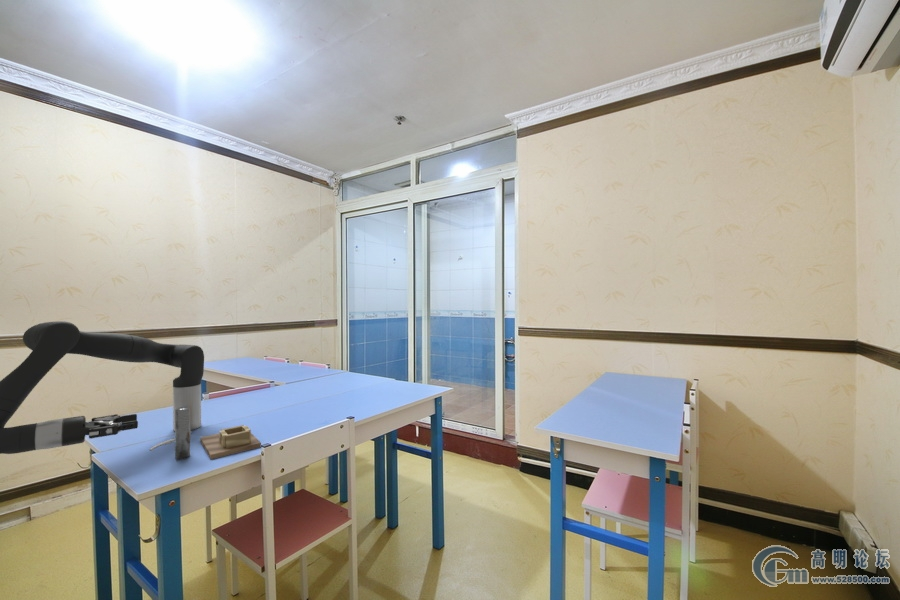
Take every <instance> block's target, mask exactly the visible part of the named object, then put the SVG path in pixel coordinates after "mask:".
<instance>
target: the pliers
mask: <svg viewBox="0 0 900 600" xmlns="http://www.w3.org/2000/svg"><path fill="white" fill-rule="evenodd" d="M190 435H192V430H190ZM174 440H175V437H174V438H171V439H168V440H165V441H162V442H159V443H156V445H154V446H152V447H150V449H149V451H150V450H151V451H153V450H155V449H157V448H159V447H161V446H164V444H165V445H169V444H173V443H175V441H174ZM172 442H173V443H172ZM160 445H161V446H160ZM158 446H159V447H158ZM156 447H157V448H156ZM154 448H155V449H154Z"/></svg>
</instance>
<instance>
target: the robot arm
mask: <svg viewBox="0 0 900 600" xmlns="http://www.w3.org/2000/svg"><path fill="white" fill-rule="evenodd" d="M22 341H23V343H24V345H25V346H26V347H27V348H28V350H29V349H30V350H31V353H29V355H28V356H27V357H26V358H25V359H24V360H23V361H22V362H21V363H20V364H19V365H18V366H17V367H16V368H14V369H13V370H12V371H11V372H9V374H7V375H6V376H5V377H4V378H2V379H1V380H0V454H1V455H4V454H5V455H12V454H13V455H14V454H21V453H27V452H32V451H39V450H50V449H56V448H61V447H66V446H72V445H73V446H74V445H77V444H79V445H80V444H83V443H84V442H85V441H86V436H88V439H90V440H91V439H96V438H101V437H109V436H115V435H118V434H119V433H121V432H122V431H130V430H135V429H138V427H139V422H138V415H137V413H133V414H126V415H118V414H116V413H115V414H109V415H105V416H100V417H99V416H98V417H92V418H91V421H86V418H87V417H86V416H85V415H79V416H78V415H77V416H73V417H64V418H59V419H51V420H47V421H43V422H38V423H37V422H36V423H29V424H21V425H16V426H11V427H10V426H9V427H5V426H6V425H7V423H8V421H10V419H11V418H12V417H13V415H14V414H16V412H17V410H18V409H19V408H20V407H21V405H22V404H23V403H24V401H25V400H26V398H27V397H28V396H29V395H30V394H31V392H32V391H34V389H35V387H36V386H37V385H38V384H39V383H40V381H42V379H43V378H44V377H46V375H47V374H48V373H49V372H50V371H51V370H52V369H53V367H55V366H56V364H57V363H58V362H60V361H61V360H62V359H63V358H64V357H65V356H66V355H68V354H69V355H80V356H81V355H82V356H87V357H92V358H98V359H103V360H110V361H111V360H112V361H116V362H118V361H119V362H125V363H157V364H162V365H167V366H171V367H175V368H178V369H179V368H180V374H179V376H177V377H175V378H174V379H172V431H173V432H175V409H177V408H180V407H190V431H193V430H197V429H199V428H200V427H201V426H202V379H203V377H204V370H205V353H204V350H203V348H202V347H201V346H199V345H196V344H170V343H169V344H168V343H160V342H157V341H154V340H153V339H149V338H146V337H143V336H138V335H132V334H128V333H116V332H114V333H113V332H90V331H89V332H88V331H83V330H82V331H81V330H80V329H79V328H78V326H76V324H74V323H72V322H70V321H65V320H64V321H63V320H57V321H47V322H46V321H45V322H41V323H38V324H37V323H36V324H34V325H33V326H31V327H29V328H27V329H26V330H25V331H24V332H23V335H22Z"/></svg>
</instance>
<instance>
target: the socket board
mask: <svg viewBox="0 0 900 600" xmlns="http://www.w3.org/2000/svg"><path fill="white" fill-rule="evenodd" d="M199 438H200V440H199V442H200V443H202V444H201V445H202V447H203V449H204V448H205V449H204V450H206V451H205V452H206V454H207V456H208V455H209V456H208V458H209V459H210V460H214V459H218V458H222V457H226V456H230V454H231V455H233V454H234V453H235V454H239V453H242V451H243V452H247V451H250V450H254V449H259V448H261V447H262V442H261V441H260V440H259V439H258V438H257V437H256V436H255V435H254V434H253V432H252V430H251V428H250V427H249V426H248V425H244V424H241V425H237V426H236V425H235V426H232V427H227V428H222V429H220V430H219V431H218V433H214V434H209V435H205V436H201V437H199ZM260 446H261V447H260ZM213 458H214V459H213Z"/></svg>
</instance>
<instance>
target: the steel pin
mask: <svg viewBox="0 0 900 600" xmlns="http://www.w3.org/2000/svg"><path fill="white" fill-rule="evenodd" d="M190 431H191V430H190V407H180V408H177V409H175V431H174V438H175V441H174V460H177V461H180V460H186V459H188V458H190V457H191V434H190Z"/></svg>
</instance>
